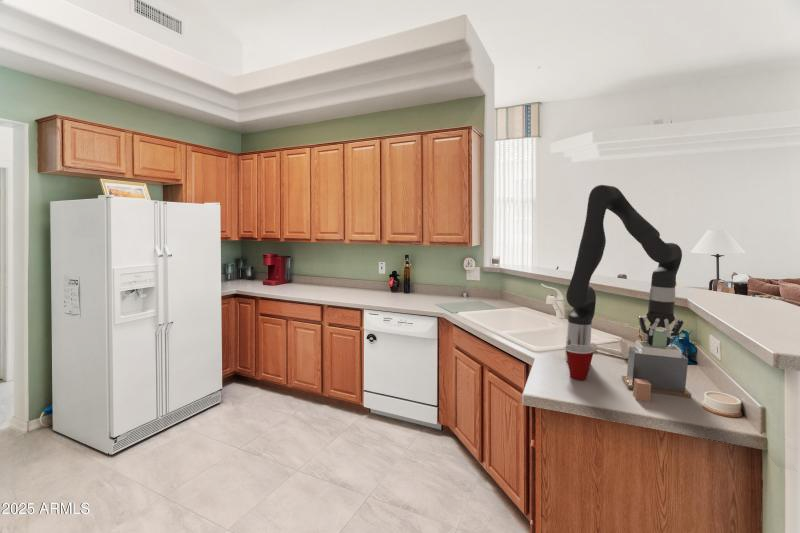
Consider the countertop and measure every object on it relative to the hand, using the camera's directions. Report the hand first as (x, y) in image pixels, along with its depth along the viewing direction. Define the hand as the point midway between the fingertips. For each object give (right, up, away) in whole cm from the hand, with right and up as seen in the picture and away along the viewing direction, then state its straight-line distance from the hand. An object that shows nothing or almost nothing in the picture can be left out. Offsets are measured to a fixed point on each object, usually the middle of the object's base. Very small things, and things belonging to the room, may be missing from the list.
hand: (657, 345), depth 134 cm
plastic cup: (-24, -15, +10) cm, 30 cm away
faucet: (+3, -12, +38) cm, 40 cm away
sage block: (0, -1, 0) cm, 1 cm away
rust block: (-11, -17, -7) cm, 21 cm away
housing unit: (0, -16, +2) cm, 16 cm away
